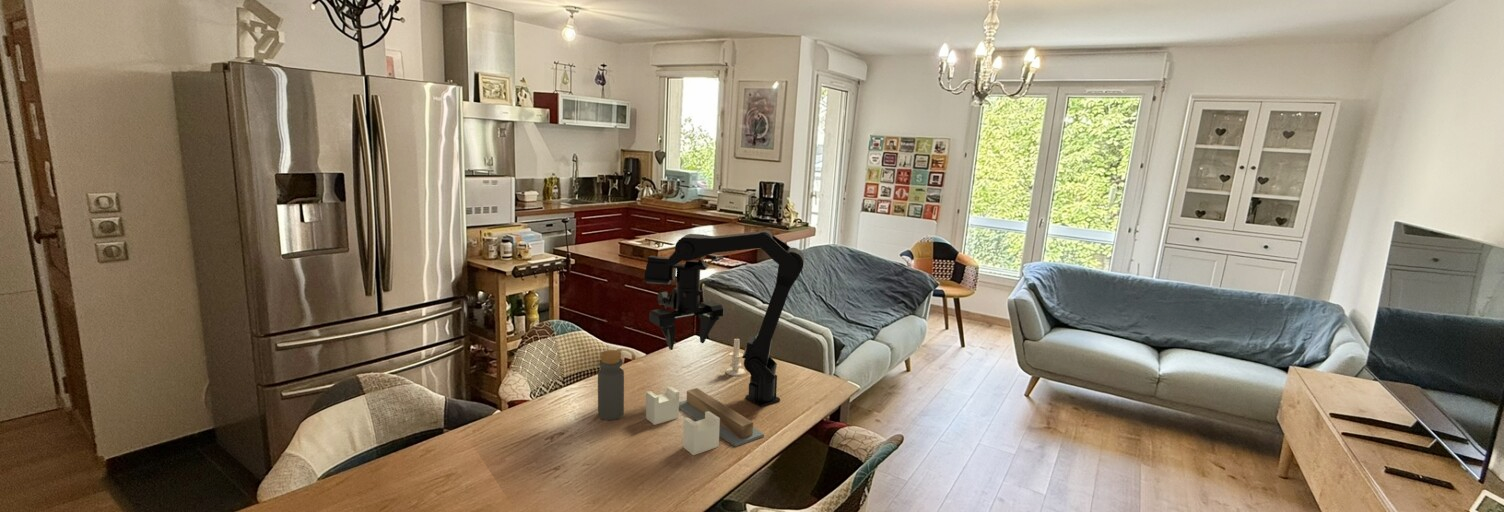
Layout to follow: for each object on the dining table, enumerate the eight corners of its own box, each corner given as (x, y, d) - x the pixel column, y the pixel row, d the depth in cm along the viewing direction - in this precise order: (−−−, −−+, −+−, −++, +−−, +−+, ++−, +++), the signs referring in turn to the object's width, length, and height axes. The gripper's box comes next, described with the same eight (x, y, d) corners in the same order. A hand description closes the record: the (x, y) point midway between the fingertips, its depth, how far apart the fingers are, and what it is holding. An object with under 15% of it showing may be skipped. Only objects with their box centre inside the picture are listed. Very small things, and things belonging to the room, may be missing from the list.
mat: (702, 397, 152) (703, 395, 152) (763, 436, 133) (764, 434, 133) (675, 405, 147) (675, 403, 147) (735, 446, 129) (735, 444, 128)
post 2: (708, 438, 131) (708, 411, 130) (718, 446, 128) (719, 418, 127) (682, 447, 127) (683, 418, 126) (693, 455, 124) (694, 426, 123)
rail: (696, 399, 149) (697, 387, 149) (752, 435, 133) (753, 422, 132) (686, 402, 147) (686, 390, 147) (741, 439, 131) (742, 426, 130)
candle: (724, 369, 171) (725, 334, 169) (742, 368, 172) (744, 333, 170) (728, 376, 166) (729, 340, 164) (746, 375, 167) (748, 339, 165)
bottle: (617, 421, 137) (617, 359, 134) (593, 418, 138) (593, 356, 135) (627, 410, 143) (628, 350, 140) (604, 407, 144) (604, 347, 141)
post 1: (669, 411, 144) (670, 385, 142) (678, 417, 141) (679, 391, 139) (645, 418, 140) (646, 391, 138) (654, 424, 137) (654, 398, 135)
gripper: (701, 275, 161) (699, 331, 164) (638, 283, 149) (637, 343, 152) (726, 284, 152) (724, 343, 155) (661, 293, 141) (660, 356, 144)
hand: (686, 346), depth 152 cm, fingers open, 9 cm apart
